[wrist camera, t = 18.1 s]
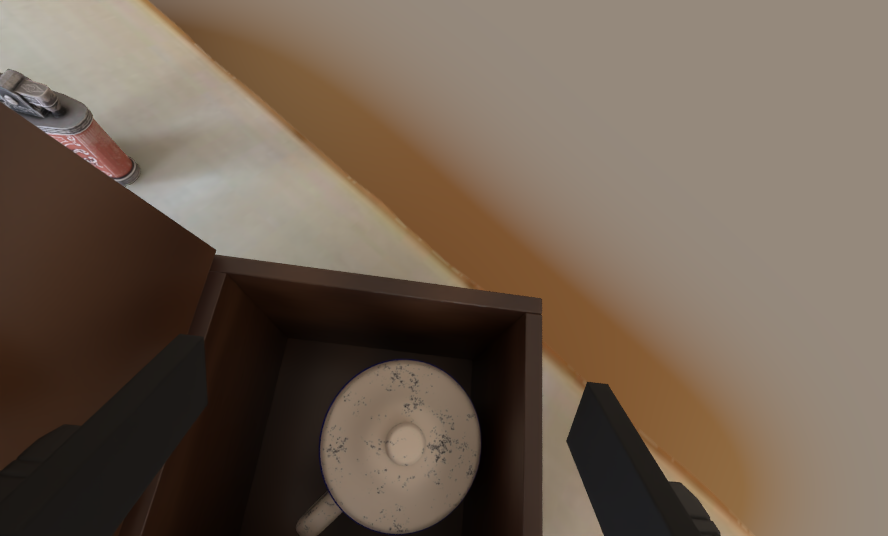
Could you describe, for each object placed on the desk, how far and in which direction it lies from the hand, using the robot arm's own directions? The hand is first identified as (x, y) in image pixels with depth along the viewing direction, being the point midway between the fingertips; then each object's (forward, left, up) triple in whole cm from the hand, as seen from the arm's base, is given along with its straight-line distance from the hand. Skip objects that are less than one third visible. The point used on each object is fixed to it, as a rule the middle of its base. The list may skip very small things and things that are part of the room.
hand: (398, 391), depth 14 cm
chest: (-1, -2, -20) cm, 20 cm away
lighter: (-29, +19, -20) cm, 40 cm away
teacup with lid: (0, -2, -19) cm, 19 cm away
